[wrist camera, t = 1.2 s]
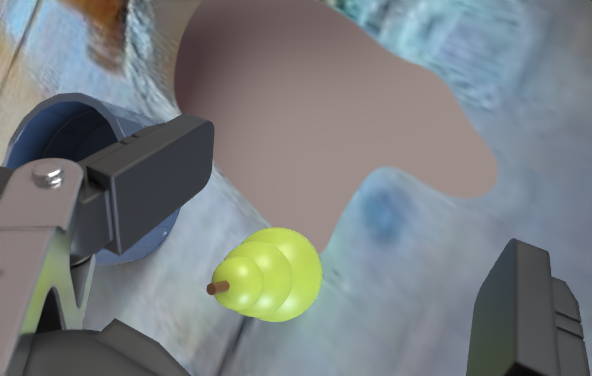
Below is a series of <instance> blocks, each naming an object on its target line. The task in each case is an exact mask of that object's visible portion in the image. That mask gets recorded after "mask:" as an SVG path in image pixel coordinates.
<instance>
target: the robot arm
mask: <svg viewBox="0 0 592 376" xmlns="http://www.w3.org/2000/svg"><path fill="white" fill-rule="evenodd" d="M213 143H214V125H213V124H212V122H210V121H207V120H205V119H202V118H200V117H197V116H195V115H192V114H189V113H184V114H182V115H180V116H178V117H176V118H174V119H172V120H170V121H169V122H167V123H161V124H157V125H152V126H148V127H145V128H143V129H141V130H139V131H137V132H135V133H133V134H132V135H131V136H127V137H125V138H123V139H122V140H120V142H119V143H118V142H116V143H114V144H112V145H110V146H108V147H106V148H104V149H102V150H100V151H98V152H96V153H94V154H92V155H90V156H89V157H87V158H85V159H83V160H81V161H79V162H77V163H76V162H73V161H71V160H67V159H62V158H46V159H39V160H35V161H31V162H29V163H26V164H24V165H22V166H20V167H19V168H17V169H12V168H7V167H1V166H0V376H191V375H190V374H189V373H188V372H187V371H186V370H185V369H184V368H183V367H182V366H181V365H180V364H179V363H178V362H177V361H176V360H175V359H174V358H173V357H172V356H171V355H170V354H169V353H168V352H167V351H166V350H165V349H164V348H163V346H162V345H161V344H160V343H159V342H157V341H155V340H153V339H151V338H150V337H148V336H146V335H144V334H142V333H141V332H139V331H137V330H135V329H133V328H132V327H130V326H128V325H126V324H124V323H123V322H121V321H119V320H117V319H114V320H113V321H112V322H111V323H110V324H108V325H107V326H106V327H105V328H104V329H103V330H102V331H101V332H100V331H94V330H85V329H83V323H84V317H85V312H86V307H87V302H88V297H89V292H90V287H91V283H92V278H93V273H94V268H95V263H96V258H95V253H96V252H97V251H98V250H100V249H101V248H102V247H103V248H104V249H106V250H108V251H110V252H112V253H114V254H116V255H118V256H121V255H122V254H123V253H124V252H125V251H127V250H128V249H129V248H130V247H132V246H133V245H134V244H135V243H137V242H138V241H139V240H140V239H142V238H143V237H144V236H145V235H147V234H148V233H149V232H150V231H152V230H153V229H154V228H155V227H156V226H158V225H159V224H160V223H161V222H163V221H164V220H165V219H166V218H168V217H169V216H170V215H171V214H173V213H174V212H175V211H176V210H178V209H179V208H180V207H181V206H183V205H184V204H185V203H186V202H187V201H189V200H190V199H191V198H192V197H194V196H195V195H196V194H197V193H199V192H200V191H201V190H202V189H203V188H204V187H205V186H206V184H207V182H208V180H209V178H210V175H211V171H212V159H213ZM580 323H581V317H580V311H579V305H578V302H577V300H576V298H575V297H574V295H573V294H572V292H571V290H570V289H569V287H568V286H567V284H566V283H565V282H564V281H562V280H559V279H556V278H554V277H551V267H550V257H549V253H548V251H546V250H543V249H541V248H538V247H535V246H533V245H530V244H527V243H525V242H522V241H520V240H517V239H514V238H513V239H511V240H510V241H509V242H508V244H507V245H506V247H505V248H504V250H503V252H502V253H501V255H500V256H499V258H498V260H497V261H496V263H495V265H494V266H493V268H492V269H491V271H490V273H489V274H488V276H487V278H486V279H485V281H484V282H483V284H482V286H481V288H480V290H479V293H478V295H477V298H476V301H475V305H474V312H473V320H472V329H471V338H470V346H469V355H468V364H467V372H466V376H590V371H589V365H588V359H587V353H586V347H585V342H584V341H583V338H584V335H583V329H582V325H580Z"/></svg>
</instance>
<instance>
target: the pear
mask: <svg viewBox="0 0 592 376" xmlns="http://www.w3.org/2000/svg"><path fill="white" fill-rule="evenodd" d="M321 282H322V266H321V262H320V259H319V256H318V254H317V252H316V250H315V248H314V247H313V245H312V244H311V243H310V242H309V241H308V240H307V239H306V238H305V237H304V236H302V235H301V234H299V233H297V232H295V231H293V230H290V229H287V228H281V227H272V228H266V229H262V230H259V231H257V232H255V233H253V234H251V235H250V236H249V237H247V238H246V239H245V240H244V241H243V242H242V243H241V244H240V245H239V246H238V247H236V248H235V249H233V250H232V251H231V252H230V253H229V254H228V255H227V256H226V258H225V259H224V261H223V262H222V263H220V264H219V266H218V267H217V268H216V270H215V271H214V273H213V276H212V281H211V283H210V284H209V285H208V286H207V292H208V294H210V295H214V296H215V298H216V300H217V301H218V302H219V303H220V304H221V305H223V306H224V307H226V308H229V309H232V310H234V311H236V312H238V313H240V314H242V315H245V316H250V317H256V318H258V319H261V320H264V321H270V322H281V321H286V320H289V319H292V318H295V317H297V316H299V315H300V314H302V313H303V312H304V311H306V310H307V309H308V308H309V307H310V306H311V304H312V303H313V302H314V300H315V298H316V297H317V295H318V293H319V290H320V287H321Z"/></svg>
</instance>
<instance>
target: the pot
mask: <svg viewBox="0 0 592 376" xmlns="http://www.w3.org/2000/svg"><path fill="white" fill-rule="evenodd" d="M157 124H158V123H157V122H155V121H154V120H152V119H150V118H149V117H146V116H144V115H141V114H138V113H135V112H133V111H130V110H127V109H124V108H122V107H119V106H116V105H113V104H110V103H108V102H105V101H102V100H99V99H96V98H94V97H91V96H88V95H85V94H82V93H64V94H58V95H55V96H53V97H51V98H49V99H47V100H45V101H43V102H41V103H39V104H38V105H37V106H36V107H35V108H34V109H33V110H32V111H31V112H30V113H29V114H27V115H26V116H25V117H24V118H23V120H22V121H21V123H20V124H19V126H18V128H17V129H16V131H15V133H14V134H13V136H12V137H11V139H10V141H9V144H8V147H7V150H6V153H5V156H4V159H3V162H2V166H1V167H7V168H12V169H17V168H19V167H20V166H22V165H24V164H26V163H29V162H31V161H35V160H39V159H46V158H62V159H67V160H71V161H73V162H76V163H77V162H79V161H81V160H83V159H85V158H87V157H89V156H90V155H92V154H94V153H96V152H98V151H100V150H102V149H104V148H106V147H108V146H110V145H112V144H114V143H116V142H118V143H119V142H120V140H122V139H123V138H125V137H127V136H131V135H132V134H133V133H135V132H137V131H139V130H141V129H143V128H145V127H148V126H152V125H157ZM179 210H180V208H179V209H178V210H176V211H175V212H174V213H173V214H171V215H170V216H169V217H168V218H166V219H165V220H164V221H163V222H161V223H160V224H159V225H158V226H156V227H155V228H154V229H153V230H152V231H150V232H149V233H148V234H147V235H145V236H144V237H143V238H142V239H140V240H139V241H138V242H137V243H135V244H134V245H133V246H132V247H130V248H129V249H128V250H127V251H125V252H124V253H123V254H122V255H121V256H118V255H116V254H114V253H112V252H110V251H108V250H106V249H104V248H103V247H102V248H101V249H100V250H98V251H97V252H96V253H95V258H96V263H95V267H105V266H114V265H120V264H124V263H130V262H134V261H137V260H139V259H141V258H143V257H145V256H146V255H148V254H150V253H151V252H152V251H153V250H155V249H156V248H157V247H158V246H159V245H160V244H161V243H162V242H163V241H164V239H165V238H166V237H167V235H168V234H169V232H170V231H171V229H172V227H173V225H174V223H175V221H176V218H177V216H178V213H179Z"/></svg>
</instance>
